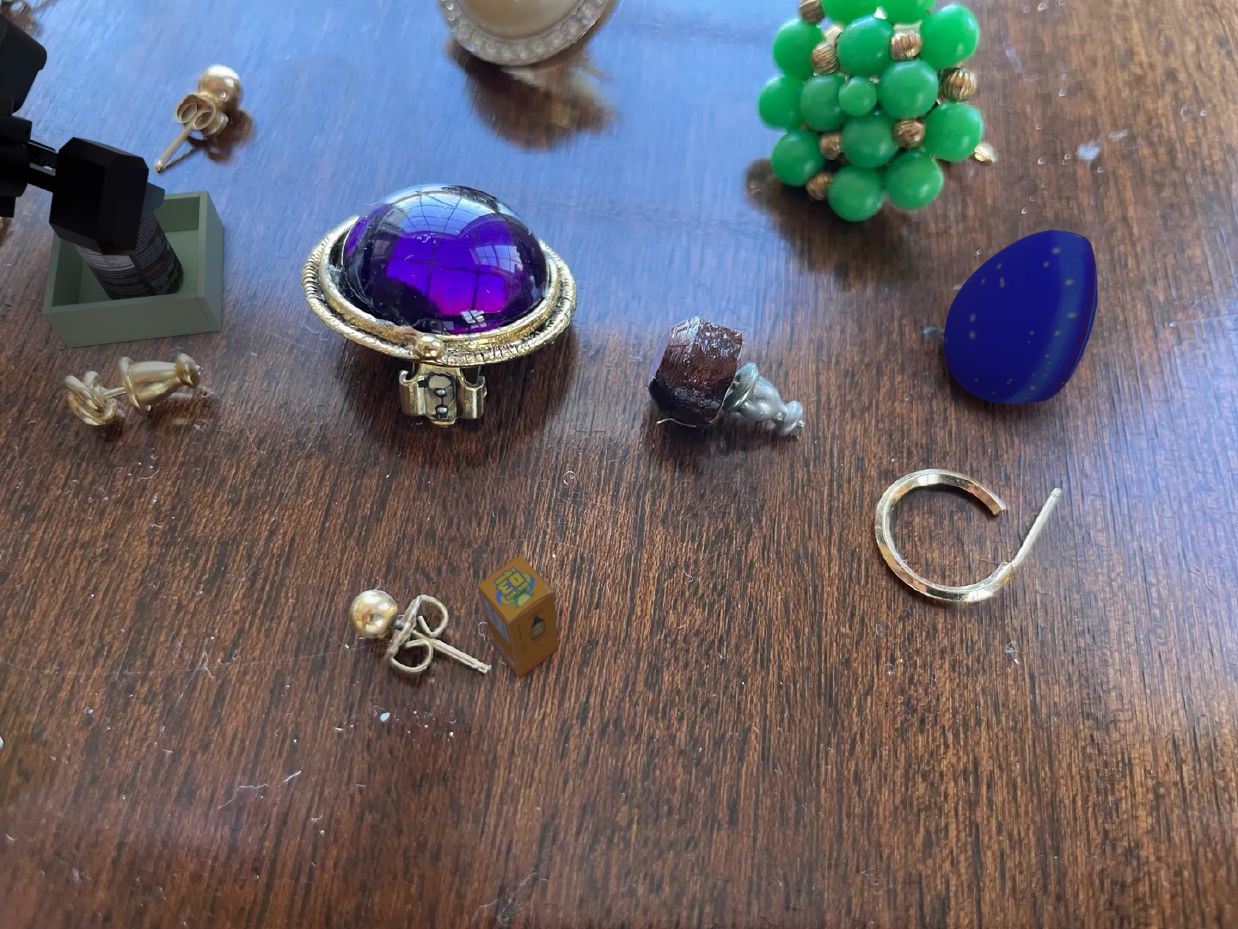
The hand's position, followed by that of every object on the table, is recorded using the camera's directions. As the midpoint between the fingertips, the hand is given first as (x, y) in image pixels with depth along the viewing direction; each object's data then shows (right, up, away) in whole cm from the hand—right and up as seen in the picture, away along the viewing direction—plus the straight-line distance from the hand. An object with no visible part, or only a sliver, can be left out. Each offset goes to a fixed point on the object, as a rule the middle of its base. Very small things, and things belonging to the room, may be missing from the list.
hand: (107, 175), depth 63 cm
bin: (-1, -6, +8) cm, 10 cm away
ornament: (+66, -13, +9) cm, 68 cm away
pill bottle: (-1, -6, +7) cm, 10 cm away
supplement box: (+30, -33, -5) cm, 45 cm away
